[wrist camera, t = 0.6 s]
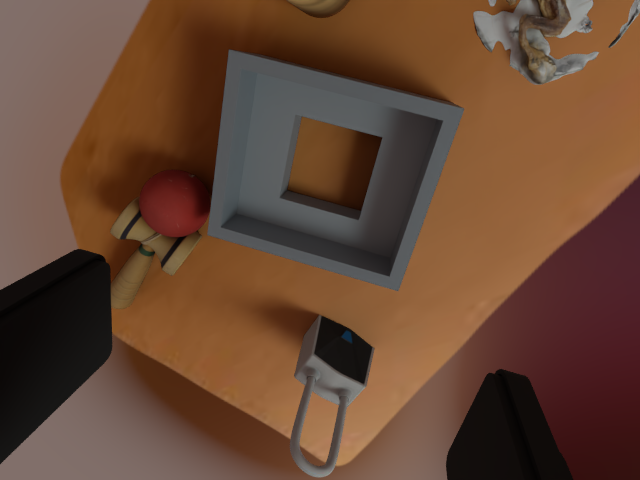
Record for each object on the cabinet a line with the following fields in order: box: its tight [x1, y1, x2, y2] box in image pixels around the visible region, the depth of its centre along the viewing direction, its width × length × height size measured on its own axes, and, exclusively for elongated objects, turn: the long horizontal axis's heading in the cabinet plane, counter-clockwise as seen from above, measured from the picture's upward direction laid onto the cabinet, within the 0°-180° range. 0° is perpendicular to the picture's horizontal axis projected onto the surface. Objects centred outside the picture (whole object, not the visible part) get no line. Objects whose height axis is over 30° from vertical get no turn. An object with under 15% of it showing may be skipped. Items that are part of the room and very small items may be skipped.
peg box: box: [208, 49, 464, 291], centre depth 32 cm, size 14×16×6 cm
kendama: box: [111, 170, 211, 309], centre depth 38 cm, size 8×6×18 cm
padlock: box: [290, 315, 374, 477], centre depth 34 cm, size 7×4×15 cm, turn 59°
